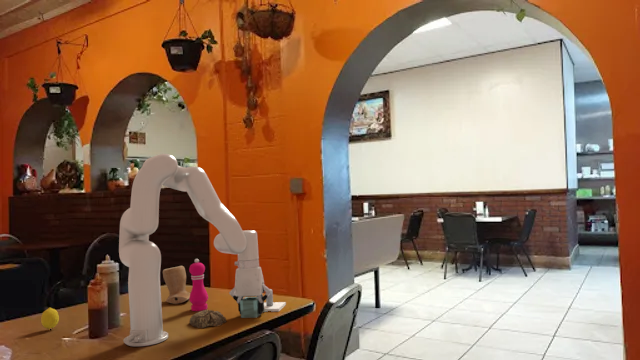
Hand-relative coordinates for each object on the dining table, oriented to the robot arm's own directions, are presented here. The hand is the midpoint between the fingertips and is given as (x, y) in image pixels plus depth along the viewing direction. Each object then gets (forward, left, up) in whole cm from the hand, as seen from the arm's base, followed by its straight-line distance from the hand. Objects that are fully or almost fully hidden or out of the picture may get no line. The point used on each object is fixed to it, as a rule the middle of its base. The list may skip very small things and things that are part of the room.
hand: (251, 312), depth 172 cm
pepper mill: (+10, +25, -1) cm, 27 cm away
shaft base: (+10, -4, -1) cm, 11 cm away
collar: (0, 0, -1) cm, 1 cm away
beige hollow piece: (+25, +42, -1) cm, 49 cm away
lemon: (-16, +70, -1) cm, 72 cm away
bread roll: (-9, +13, -1) cm, 16 cm away
